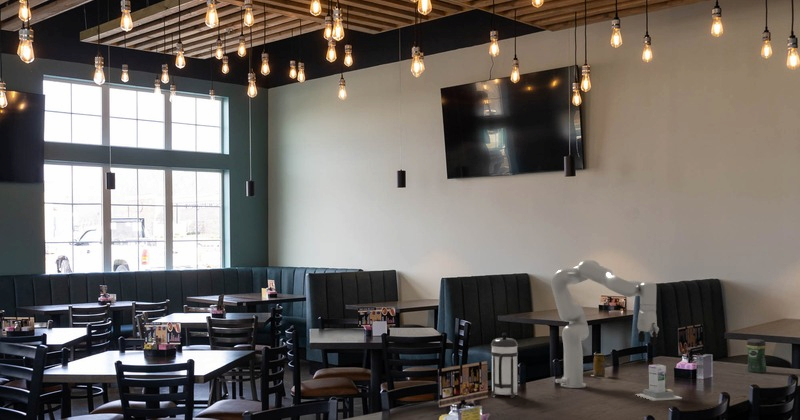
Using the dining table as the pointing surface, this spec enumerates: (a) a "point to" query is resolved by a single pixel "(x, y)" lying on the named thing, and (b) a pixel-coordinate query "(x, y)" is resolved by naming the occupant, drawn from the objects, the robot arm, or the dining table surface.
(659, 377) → the syrup box
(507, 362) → the coffee press
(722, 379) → the dining table surface
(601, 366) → the condiment
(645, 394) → the chassis plate
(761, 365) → the coffee jar
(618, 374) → the dining table surface
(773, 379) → the dining table surface
